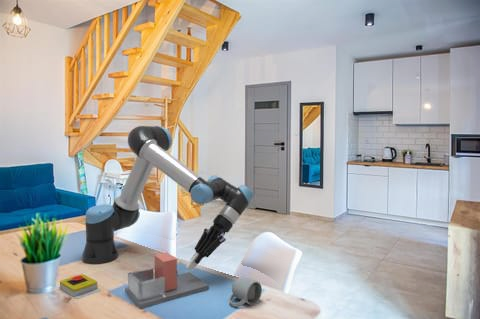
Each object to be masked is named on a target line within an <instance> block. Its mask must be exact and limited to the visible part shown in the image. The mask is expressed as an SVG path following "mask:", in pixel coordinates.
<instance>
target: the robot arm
mask: <svg viewBox="0 0 480 319" xmlns="http://www.w3.org/2000/svg"><path fill="white" fill-rule="evenodd" d="M127 144H128V147H129V149H130V150H131V152H133V153H134V154H135V155H136V158H135V160H134V163H133V165H132V167H131V169H130V172H129V174H128V175H127V179H126V181H125V184H124V186H123V189H122V190H121V192H120V195H118V196H117V197H115V199H114V201H113V204H110V203H107V204H106V203H105V204H103V203H102V204H97V205H94V206H91V207H90V208H88V209H87V210H86V212H85V219H84V221H85V238H86V239H85V241H86V242H85V244H84V249H83V251H82V254H81V260H82V262H83V263H86V264H88V265H89V264H91V265H98V264H99V265H100V264H106V263H110V262H112V261H114V260H117V259H118V258H119V250H118V248H117V245H116V242H115V237H114V236H115V233H114V232H115V231H119V230H123V229H126V228H129V227H131V226H133V225H135V224H136V223H137V221H138V220H139V218H140V208H139V207H140V204H139V199H140V197H141V196H142V193H143V191H144V189H145V186H146V184H147V182H148V180H149V177H150V175H151V173H152V171H153V169H154V167H156V168H157V169H158V170H160V172H162V173H163V174H165V175H166V176H167V177H168V178H170V179H171V180H172V181H173V182H175V183H176V184H178V186H180V187H181V188H182V189H184V190H185V191H186V192H188V193H189V194H190V198H191V200H192V202H193V203H194V204H197V205H204V204H208V203H211V202H213V201H216V200H218V199H220V200H221V201H223V202H224V203H225V204H224V206H223V207H222V208H221V209H220V211H219V213H218V214H217V215H216V216H215V217H214V219H213V221H212V223H213V225H211V226H210V227H209V228H206V227H205V228H204V229H203V233H202V234H201V236H200V238H199V239H198V242H197V243H196V245H195V247H194V250H195V253H194V254H193V255H192V257H191V258H190V260H189V261H188V263H187V264H186V266H185V268H186V269H188V271H189V272H190V273H193V271H194V269H195V268H196V267H197V266H198V264H200V262H201V261H202V259H203V258H209V257H210V255H212V254H213V252H215V251H216V249H217V248H219V247H220V245H222V244H223V243H224V242H226V240H227V239H226V238H225V235H226V233H227V234H228V233H229V232H230V231H231V229H232V228H233V225H235V224H236V222H237V221H238V220H239V218H240V217H241V215H242V214H243V213H244V211H245V210H246V209H247V207H248V206H249V205H250V203H251V202H252V200H253V198H254V197H255V195H254V192H253V191H252V189H250V187H247V186H245V185H243V184H241V185H238V187H237V186H235V185H233V184H231V182H228V181H227V180H225V179H224V178H222V177H221V176H218V175H215V174H213V175H211V176H210V177H209V178H208V179H207V180H205V179H204V178H202V176H200V175H198V174H197V173H196V172H194V171H193V170H192V169H191V168H189V167H188V166H186V165H185V164H184V163H183V162H181V161H180V160H178V159H177V158H176V157H174V156H173V155H171V154H170V153H169V152H168V150H170V149H171V147H172V144H173V139H172V136H171V132H170V131H169V130H168V129H167V128H165V127H164V126H159V125H151V126H150V125H149V126H148V125H139V126H135V127H134V128H132V129H131V130H130V132H129V134H128V136H127Z"/></svg>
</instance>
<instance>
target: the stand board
mask: <svg viewBox="0 0 480 319" xmlns="http://www.w3.org/2000/svg"><path fill="white" fill-rule="evenodd" d="M209 289H210V284H208V283H206V282H205V280H204V281H203V280H202V279H201V278H199V277H198V276H196V275H195V274H193V272H191V271H188V272H185V273H184V272H183V273H179V274H178V275H177V289H173V290H169V291H166V292H165V295H162V296H159V297H155V298H151V299H148V300H144V301H140V302H139V301H138V300H137V299H136V297H135V296H134V295H133V294H132V293H131V292H130V291H129V290H128V286H126V287H125V288H124V292H125V294H126V295H127V296H128V298H129V299H131V300H132V302H133V303H134V304H135V305H136V306H137V307H138V309H140V310H141V309H145V308H147V307H152V306H154V305H158V304H162V303H165V302H169V301H172V300H175V299H176V300H177V299H179V298H182V297H186V296H190V295H193V294H197V293H200V292H204V291H208V290H209Z"/></svg>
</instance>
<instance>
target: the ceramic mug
mask: <svg viewBox="0 0 480 319" xmlns="http://www.w3.org/2000/svg"><path fill="white" fill-rule="evenodd" d="M262 288H263V287H262V285H261V283H260V281H258V280H253V279H249V278H247V277H237V278H236V279H235V280H234V282H233V284H232V288H231V290H232V293H231V295H230V296H229V297H228V301H229V304H230V306H231V307H233V308H239V307H241V306H243V305H244V304H247V305H250V306H254V305H256V304H257V303H258V302H259V300H261V299H260V298H261V297H262V293H263V290H262ZM234 298H236V299H238V300H240V301H238V302H235V303H234V302H233V299H234Z"/></svg>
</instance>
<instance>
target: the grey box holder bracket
mask: <svg viewBox="0 0 480 319" xmlns="http://www.w3.org/2000/svg"><path fill="white" fill-rule="evenodd" d="M127 287H128V290H129V291H130V292H131V293H132V294H133V295H134V296H135V297H136V299H137V300H138V301H139V302H140V301H144V300H148V299H151V298H155V297H159V296H162V295H165V278H164V277H160V278H156V279H155V277H154V268H153V267H149V268H148V267H147V268H144V269H140V270H135V271H130V272H128V273H127Z"/></svg>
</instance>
